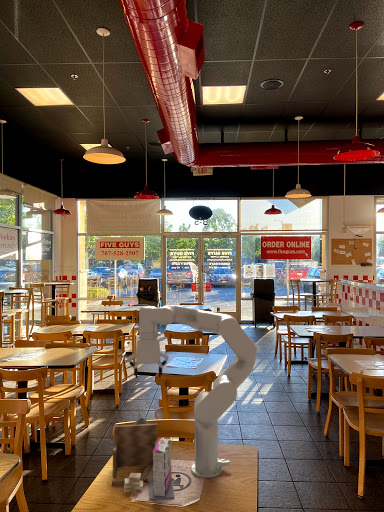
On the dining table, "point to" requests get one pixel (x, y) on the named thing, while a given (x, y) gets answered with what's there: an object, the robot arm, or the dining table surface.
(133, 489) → the offcut stack
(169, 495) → the mat
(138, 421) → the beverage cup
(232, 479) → the dining table surface
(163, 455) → the candy bar box
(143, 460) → the stand
